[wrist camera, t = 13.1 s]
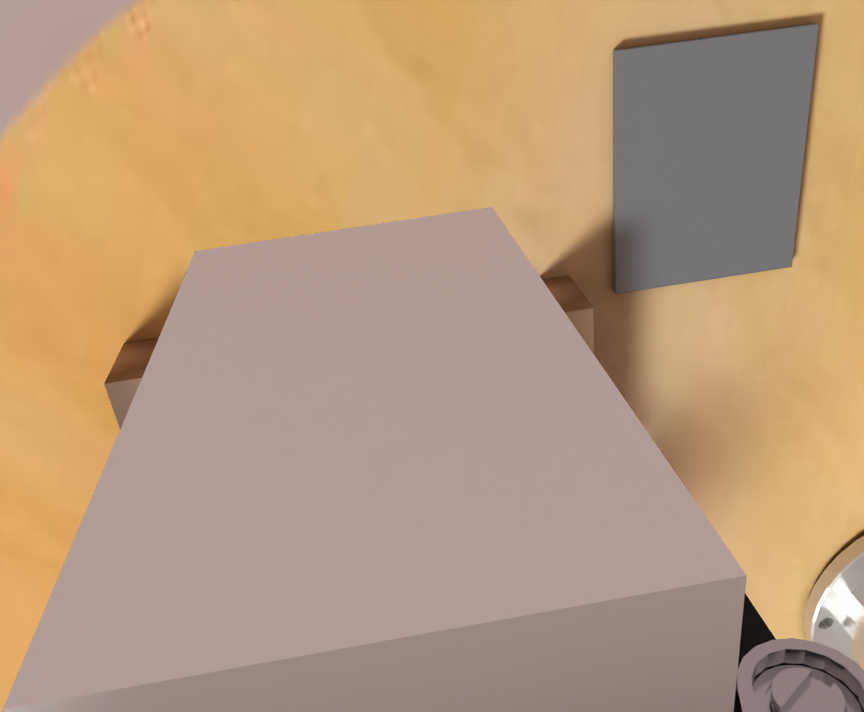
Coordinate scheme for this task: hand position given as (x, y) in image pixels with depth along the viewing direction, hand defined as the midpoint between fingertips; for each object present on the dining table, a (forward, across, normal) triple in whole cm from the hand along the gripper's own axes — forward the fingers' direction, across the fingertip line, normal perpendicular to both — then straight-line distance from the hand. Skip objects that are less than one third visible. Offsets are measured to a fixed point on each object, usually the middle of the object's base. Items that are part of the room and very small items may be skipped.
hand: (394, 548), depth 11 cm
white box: (+4, 0, 0) cm, 4 cm away
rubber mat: (+22, -15, +2) cm, 27 cm away
